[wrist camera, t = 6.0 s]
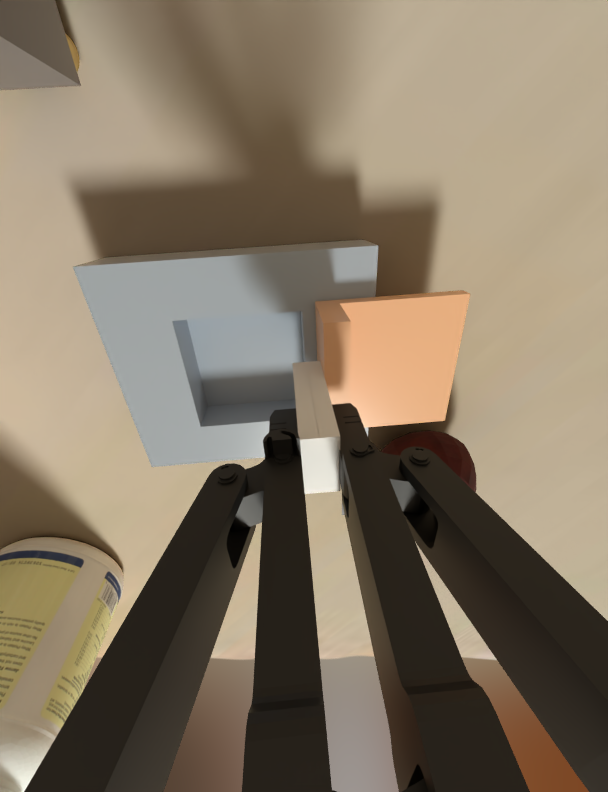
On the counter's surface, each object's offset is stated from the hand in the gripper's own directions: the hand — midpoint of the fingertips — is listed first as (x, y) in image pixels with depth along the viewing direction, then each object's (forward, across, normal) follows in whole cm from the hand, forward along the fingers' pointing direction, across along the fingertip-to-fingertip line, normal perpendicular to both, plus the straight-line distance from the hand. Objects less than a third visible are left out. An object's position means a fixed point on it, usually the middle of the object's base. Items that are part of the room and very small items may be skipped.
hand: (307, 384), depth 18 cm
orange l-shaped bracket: (+2, +5, 0) cm, 5 cm away
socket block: (+5, -4, 0) cm, 6 cm away
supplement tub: (+6, -26, -22) cm, 34 cm away
